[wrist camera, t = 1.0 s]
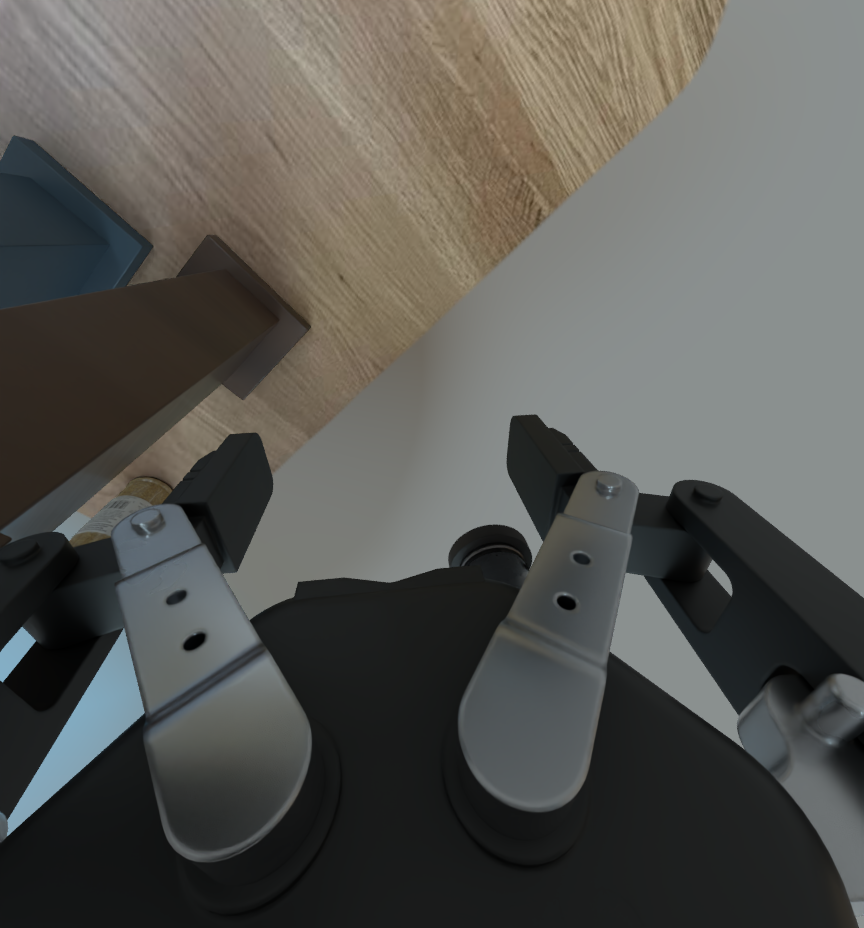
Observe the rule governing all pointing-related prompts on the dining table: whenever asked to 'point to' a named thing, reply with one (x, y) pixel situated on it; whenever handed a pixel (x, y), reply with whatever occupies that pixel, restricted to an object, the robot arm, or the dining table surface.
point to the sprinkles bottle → (122, 509)
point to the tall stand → (123, 376)
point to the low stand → (57, 232)
